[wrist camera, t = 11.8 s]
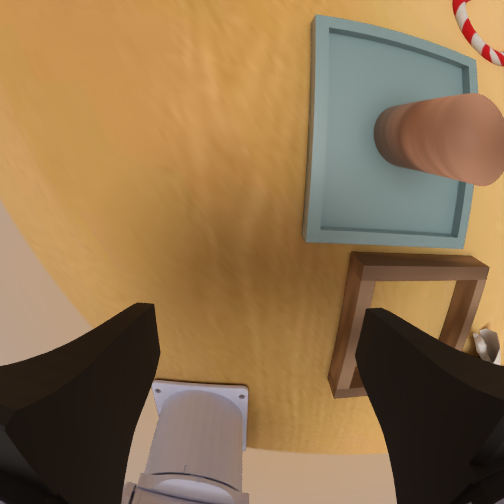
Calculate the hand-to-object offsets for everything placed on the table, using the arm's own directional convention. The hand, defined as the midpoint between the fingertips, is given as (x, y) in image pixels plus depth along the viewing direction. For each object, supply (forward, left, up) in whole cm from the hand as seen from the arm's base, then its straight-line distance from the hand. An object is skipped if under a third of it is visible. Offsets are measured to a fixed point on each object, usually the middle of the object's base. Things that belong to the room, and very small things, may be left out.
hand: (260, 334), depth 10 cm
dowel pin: (+8, -9, -10) cm, 15 cm away
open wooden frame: (-6, -12, -10) cm, 17 cm away
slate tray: (+8, -9, -10) cm, 16 cm away
